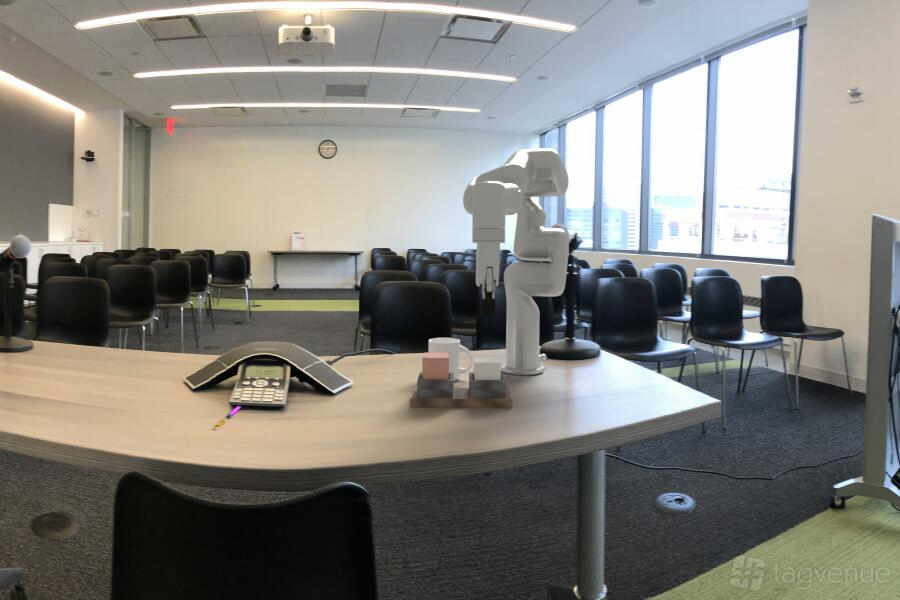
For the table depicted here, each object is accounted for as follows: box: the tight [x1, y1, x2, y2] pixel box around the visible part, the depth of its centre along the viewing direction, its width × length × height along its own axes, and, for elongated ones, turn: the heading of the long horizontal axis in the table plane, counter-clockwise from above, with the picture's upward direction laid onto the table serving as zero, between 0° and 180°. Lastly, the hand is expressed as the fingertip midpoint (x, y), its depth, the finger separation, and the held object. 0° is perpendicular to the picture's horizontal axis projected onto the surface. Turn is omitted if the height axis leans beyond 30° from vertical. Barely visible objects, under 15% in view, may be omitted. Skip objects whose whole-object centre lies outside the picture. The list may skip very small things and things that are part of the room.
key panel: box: [410, 371, 513, 409], centre depth 134 cm, size 23×10×6 cm, turn 89°
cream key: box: [473, 356, 502, 380], centre depth 134 cm, size 6×6×6 cm
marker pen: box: [213, 405, 242, 428], centre depth 122 cm, size 3×1×16 cm
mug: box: [428, 337, 473, 382], centre depth 156 cm, size 9×12×11 cm
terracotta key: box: [421, 352, 449, 380], centre depth 134 cm, size 6×6×6 cm
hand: (488, 315), depth 133 cm, fingers closed
